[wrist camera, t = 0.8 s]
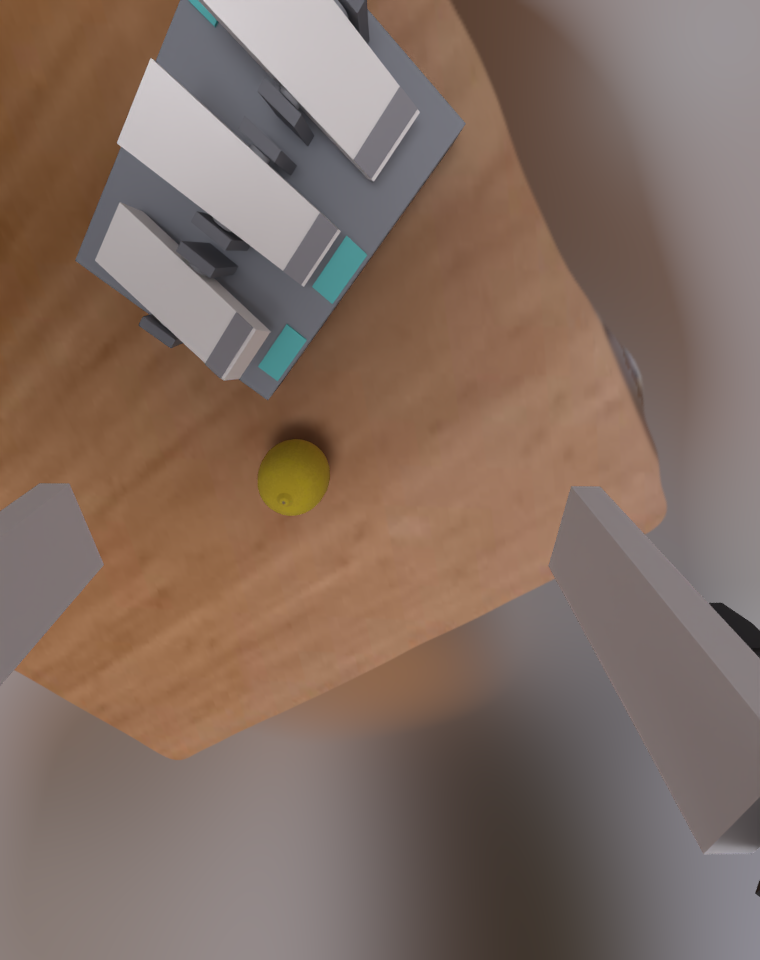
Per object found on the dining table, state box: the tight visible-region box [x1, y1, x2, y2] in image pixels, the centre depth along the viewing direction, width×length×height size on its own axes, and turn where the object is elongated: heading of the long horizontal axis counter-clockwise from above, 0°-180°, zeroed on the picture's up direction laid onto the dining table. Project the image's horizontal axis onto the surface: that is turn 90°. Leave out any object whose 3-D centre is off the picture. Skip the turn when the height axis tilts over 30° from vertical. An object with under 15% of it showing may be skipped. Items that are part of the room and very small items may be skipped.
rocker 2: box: [117, 58, 341, 287], centre depth 21 cm, size 10×4×2 cm, turn 50°
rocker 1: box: [198, 0, 420, 182], centre depth 19 cm, size 10×4×2 cm, turn 50°
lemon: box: [258, 439, 330, 516], centre depth 33 cm, size 6×6×8 cm
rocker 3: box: [95, 202, 271, 381], centre depth 23 cm, size 10×4×2 cm, turn 51°
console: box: [75, 0, 466, 400], centre depth 24 cm, size 14×20×8 cm
